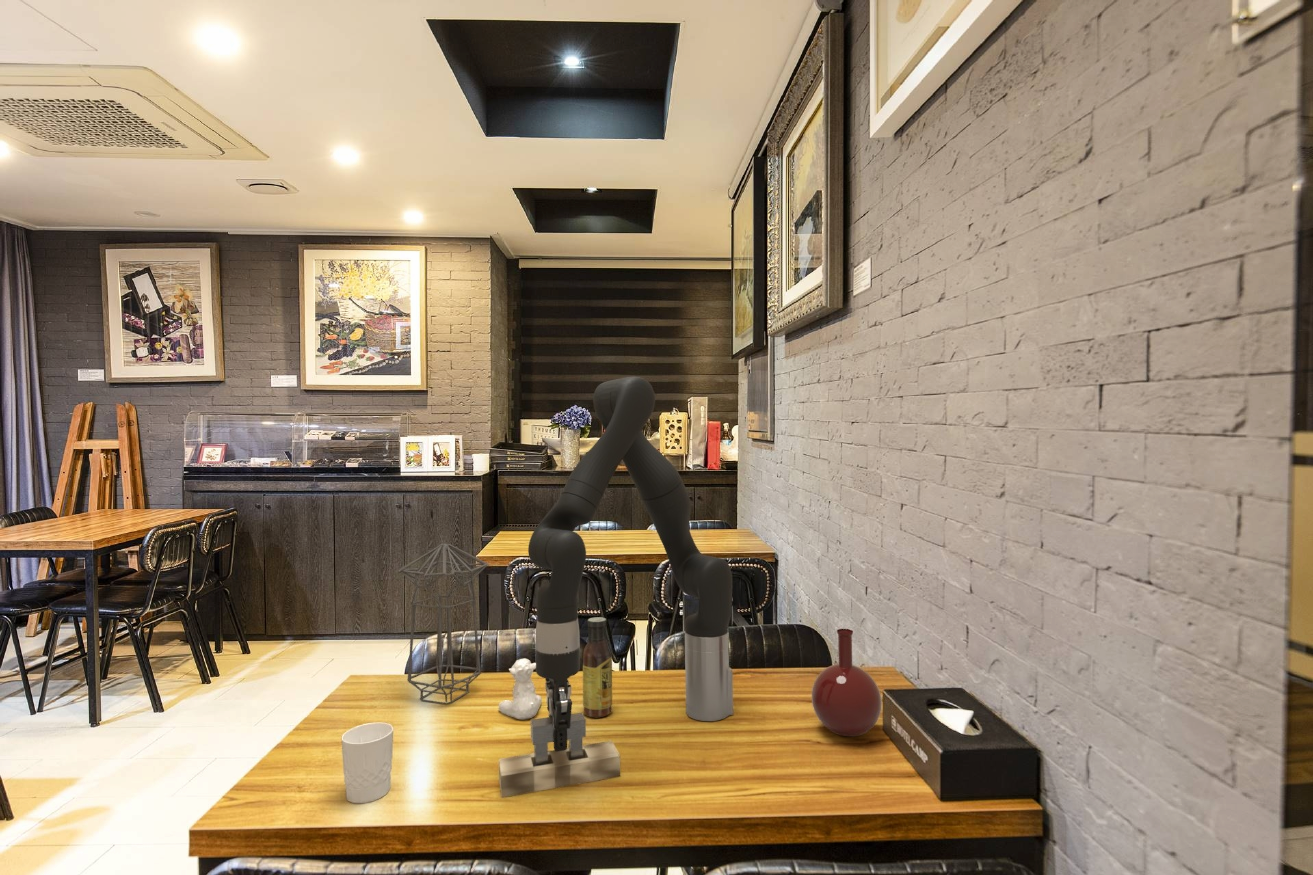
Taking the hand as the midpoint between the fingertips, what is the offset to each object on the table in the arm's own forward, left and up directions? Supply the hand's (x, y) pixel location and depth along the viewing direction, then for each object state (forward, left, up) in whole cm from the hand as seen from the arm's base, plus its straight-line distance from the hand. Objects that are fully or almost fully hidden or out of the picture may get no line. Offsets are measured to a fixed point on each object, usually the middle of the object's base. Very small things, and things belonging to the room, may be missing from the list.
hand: (558, 744), depth 110 cm
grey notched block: (0, 0, -4) cm, 4 cm away
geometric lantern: (+19, -46, -6) cm, 50 cm away
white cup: (+31, -6, -6) cm, 32 cm away
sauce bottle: (-12, -24, -6) cm, 28 cm away
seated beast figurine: (+3, -29, -6) cm, 30 cm away
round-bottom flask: (-56, +2, -6) cm, 56 cm away
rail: (0, 0, -6) cm, 6 cm away
